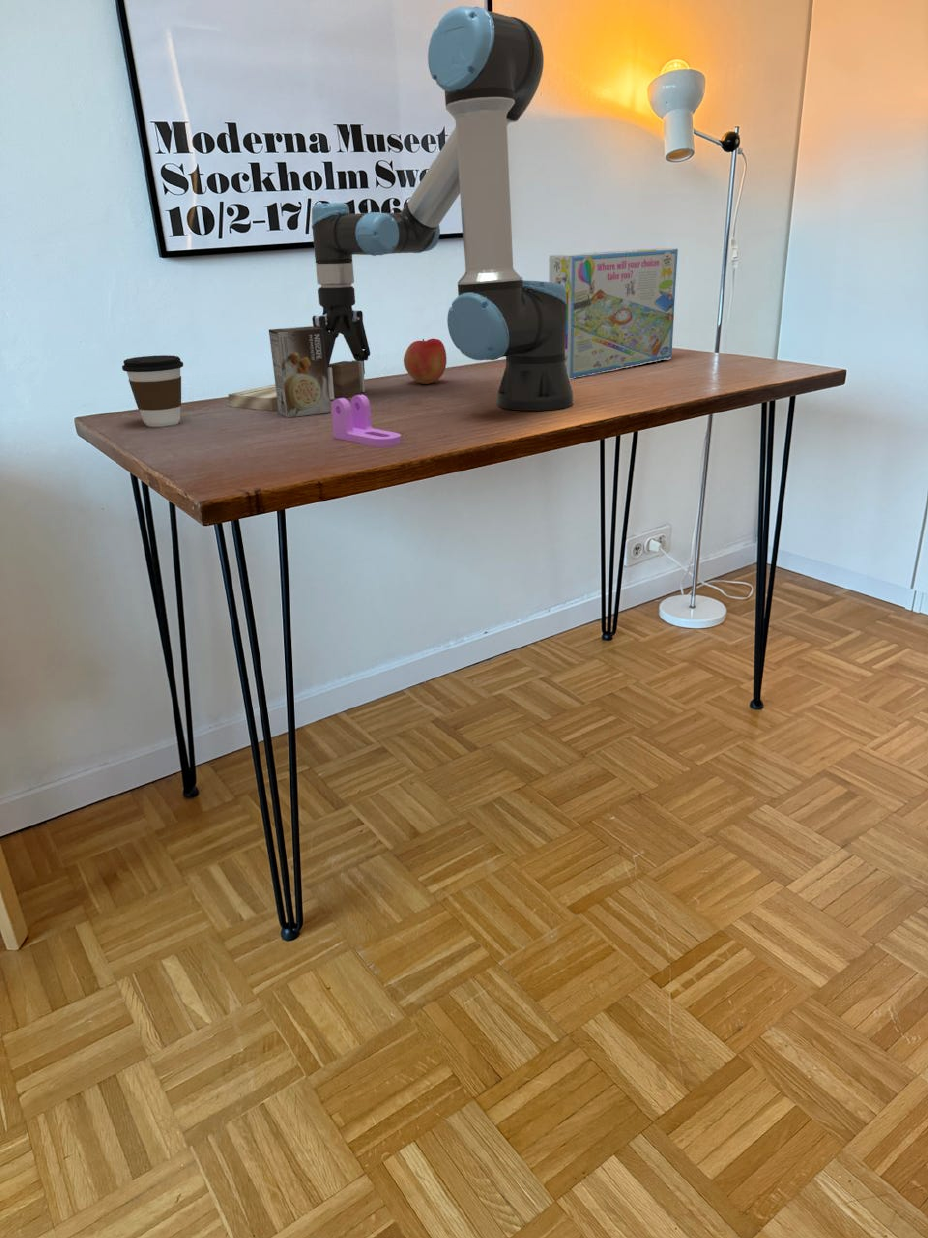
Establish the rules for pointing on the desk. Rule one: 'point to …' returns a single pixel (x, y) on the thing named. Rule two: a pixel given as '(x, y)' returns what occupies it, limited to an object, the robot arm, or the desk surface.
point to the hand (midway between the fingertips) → (344, 394)
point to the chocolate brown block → (345, 379)
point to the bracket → (359, 423)
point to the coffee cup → (156, 388)
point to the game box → (616, 307)
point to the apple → (425, 360)
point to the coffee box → (300, 371)
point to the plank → (256, 399)
